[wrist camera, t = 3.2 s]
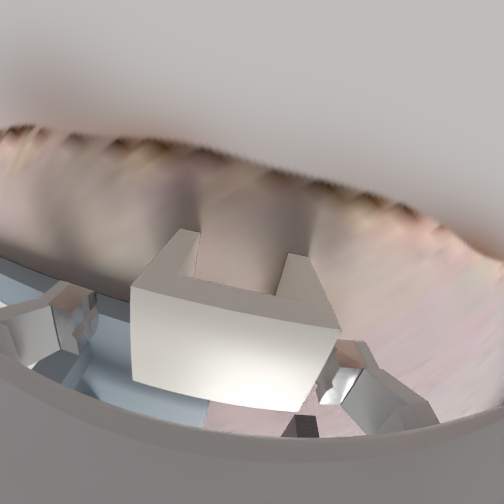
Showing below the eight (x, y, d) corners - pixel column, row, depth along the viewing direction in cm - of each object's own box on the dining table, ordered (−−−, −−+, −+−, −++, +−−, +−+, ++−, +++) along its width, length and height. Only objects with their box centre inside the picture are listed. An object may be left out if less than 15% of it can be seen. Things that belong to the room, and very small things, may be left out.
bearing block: (225, 326, 13) (208, 444, 7) (200, 437, 17) (188, 512, 11) (-49, 233, 11) (-101, 264, 5) (-21, 341, 15) (-56, 379, 9)
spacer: (180, 228, 11) (130, 285, 6) (308, 257, 12) (341, 330, 7) (170, 301, 13) (132, 380, 8) (285, 325, 13) (297, 411, 8)
